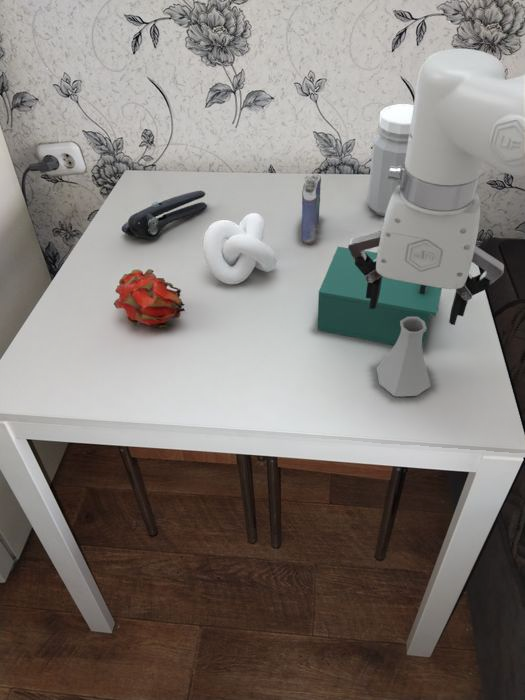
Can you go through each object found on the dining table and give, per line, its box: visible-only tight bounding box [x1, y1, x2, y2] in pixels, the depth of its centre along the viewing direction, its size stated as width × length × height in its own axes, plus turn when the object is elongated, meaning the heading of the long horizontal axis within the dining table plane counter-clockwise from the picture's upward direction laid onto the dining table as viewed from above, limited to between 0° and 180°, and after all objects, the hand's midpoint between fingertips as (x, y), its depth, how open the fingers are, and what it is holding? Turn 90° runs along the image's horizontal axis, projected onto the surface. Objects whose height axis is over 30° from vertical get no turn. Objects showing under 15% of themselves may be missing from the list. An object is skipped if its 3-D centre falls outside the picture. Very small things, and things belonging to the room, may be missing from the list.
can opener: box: [121, 190, 208, 240], centre depth 109 cm, size 18×7×6 cm, turn 131°
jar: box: [367, 103, 414, 218], centre depth 106 cm, size 10×10×18 cm
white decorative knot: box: [202, 212, 278, 285], centre depth 97 cm, size 11×12×9 cm
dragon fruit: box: [113, 269, 186, 328], centre depth 90 cm, size 8×8×12 cm
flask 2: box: [301, 173, 322, 245], centre depth 104 cm, size 9×3×11 cm, turn 170°
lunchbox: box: [316, 294, 431, 351], centre depth 88 cm, size 16×12×7 cm
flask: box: [376, 317, 432, 397], centre depth 77 cm, size 7×7×10 cm
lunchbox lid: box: [318, 246, 443, 317], centre depth 84 cm, size 16×12×5 cm
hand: (413, 309), depth 73 cm, fingers open, 9 cm apart
